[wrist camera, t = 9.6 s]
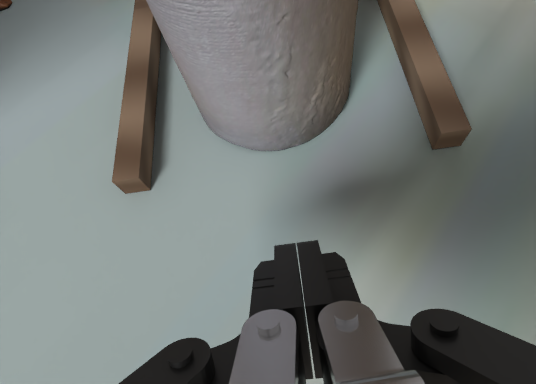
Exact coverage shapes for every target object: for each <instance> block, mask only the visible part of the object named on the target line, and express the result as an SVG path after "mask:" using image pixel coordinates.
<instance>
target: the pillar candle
mask: <svg viewBox="0 0 536 384" xmlns="http://www.w3.org/2000/svg"><path fill="white" fill-rule="evenodd" d="M146 1H147V3H148V5H149V8H150V10H151V12H152V14H153V16H154V18H155V20H156V22H157V24H158V26H159V29H160V31H161V33H162V35H163V37H164V39H165V41H166V43H167V45H168V47H169V49H170V51H171V54H172V56H173V58H174V60H175V62H176V64H177V66H178V68H179V70H180V72H181V74H182V76H183V78H184V80H185V82H186V84H187V86H188V88H189V90H190V92H191V95H192V97H193V99H194V101H195V103H196V105H197V107H198V109H199V111H200V113H201V115H202V117H203V118H204V120H205V122H206V124H207V125H208V127H209V128H210V129H211V130H212V131H213V132H214V133H215V134H216V135H218V136H219V137H221V138H223V139H225V140H227V141H229V142H231V143H233V144H236V145H239V146H242V147H245V148H249V149H252V150H258V151H276V150H278V151H279V150H283V149H287V148H291V147H293V146H298V145H301V144H304V143H305V142H308V141H310V140H311V139H313V138H314V137H316V136H317V135H319V134H320V133H322V132H323V131H324V130H325V129H326V128H327V127H329V125H331V123H333V121H334V120H335V119H336V118H337V116H338V115H339V114H340V112H341V111H342V109H343V106H344V104H345V103H346V101H347V98H348V94H349V87H350V77H351V66H352V57H353V44H354V35H355V25H356V15H357V9H358V0H146Z"/></svg>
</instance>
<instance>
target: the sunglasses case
mask: <svg viewBox="0 0 536 384" xmlns="http://www.w3.org/2000/svg"><path fill="white" fill-rule="evenodd" d="M11 4H12V2H11V0H0V10H2V9H5V8H9V6H11Z"/></svg>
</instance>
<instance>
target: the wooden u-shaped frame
mask: <svg viewBox="0 0 536 384" xmlns="http://www.w3.org/2000/svg"><path fill="white" fill-rule="evenodd" d="M377 1H378V4H379V6H380V9H381V12H382V14H383V17H384V20H385V23H386V25H387V28H388V31H389V33H390V36H391V39H392V41H393V44H394V47H395V49H396V52H397V55H398V58H399V60H400V63H401V66H402V68H403V71H404V74H405V76H406V79H407V82H408V85H409V87H410V90H411V93H412V95H413V98H414V101H415V103H416V106H417V109H418V112H419V114H420V117H421V120H422V122H423V125H424V128H425V130H426V133H427V136H428V139H429V141H430V144H431V147H432V149H440V148H447V147H454V146H461V144H462V143H463V141H464V140H465V138H466V137H467V135H468V134H469V132H470V131H471V129H472V128H471V126H470V124H469V122H468V119H467V117H466V115H465V113H464V110H463V108H462V106H461V104H460V102H459V99H458V97H457V95H456V93H455V90H454V88H453V86H452V84H451V81H450V79H449V77H448V75H447V72H446V70H445V68H444V66H443V64H442V61H441V59H440V57H439V55H438V52H437V50H436V48H435V46H434V43H433V41H432V39H431V37H430V34H429V32H428V30H427V28H426V25H425V23H424V21H423V19H422V17H421V14H420V12H419V10H418V8H417V5H416V3H415V1H414V0H377ZM160 44H161V31H160V29H159V26H158V24H157V22H156V20H155V18H154V16H153V14H152V12H151V10H150V8H149V5H148V3H147V1H146V0H135V5H134V13H133V21H132V29H131V37H130V44H129V52H128V60H127V68H126V76H125V84H124V91H123V99H122V107H121V115H120V123H119V130H118V138H117V146H116V154H115V162H114V170H113V177H112V182H113V183H114V184H115V185H116V186H117V187H119V188H120V189H121V190H122V191H123V192H124V193H125V194H127V193H133V192H140V191H147V190H150V188H151V173H152V159H153V145H154V130H155V116H156V101H157V87H158V73H159V58H160Z"/></svg>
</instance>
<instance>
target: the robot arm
mask: <svg viewBox="0 0 536 384" xmlns="http://www.w3.org/2000/svg"><path fill="white" fill-rule="evenodd" d="M297 247H298V255H299V262H300V270H301V278H302V285H303V293H304V301H305V308H306V315H307V322H308V329H309V336H310V342H311V349H312V356H313V363H314V370H315V377H316V378H323V381H324V384H536V346H535V345H533V344H530V343H528V342H526V341H523V340H521V339H518V338H516V337H514V336H511V335H509V334H507V333H504V332H502V331H500V330H497V329H495V328H492V327H490V326H488V325H485V324H483V323H481V322H478V321H476V320H474V319H471V318H469V317H466V316H464V315H462V314H459V313H457V312H454V311H450V310H445V309H428V310H424V311H421V312H419V313H417V314H416V315H415V316H414V317H413V318H412V320H411V326H403V325H395V324H388V323H385V322H382V321H379V320H377V318H376V317H375V315H374V313H373V312H372V310H371V309H370V308H369V307H367V306H366V305H364V304H361V301H360V299H359V296H358V293H357V291H356V288H355V285H354V283H353V280H352V278H351V275H350V272H349V270H348V267H347V264H346V262H345V259H344V258H342V257H341V256H340V255H338V254H337V253H336V252H333V253H325V254H321V251H320V247H319V243H318V240H315V241H307V242H300V243H297ZM252 289H253V290H252V296H251V305H250V314H249V319H248V320H247V321H246V322H245V323H244V325H243V327H242V331H241V334H240V335H239V336H237V337H236V338H234V339H233V340H231V341H229V342H227V343H224V344H222V345H219V346H216V347H214V348H211V349H210V347H209V345H208V344H207V342H205V341H204V340H202V339H199V338H186V339H181V340H178V341H176V342H173V343H172V344H170V345H168V346H167V347H165V348H164V349H163V350H161V351H160V352H159V353H157V354H156V355H155V356H154V357H152V358H151V359H150V360H148V361H147V362H146V363H145V364H143V365H142V366H141V367H139V368H138V369H137V370H136V371H134V372H133V373H132V374H131V375H129V376H128V377H127V378H125V379H124V380H123V381H122V382H120V383H119V384H306V379H313V372H312V364H311V357H310V349H309V341H308V333H307V325H306V317H305V309H304V301H303V293H302V286H301V279H300V273H299V266H298V259H297V252H296V245H295V243H292V244H284V245H277V246H275V247H274V260H271V261H263V262H261V263H260V264H259V265H258V266H257V268H256V269H255V270H254V277H253V287H252Z"/></svg>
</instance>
